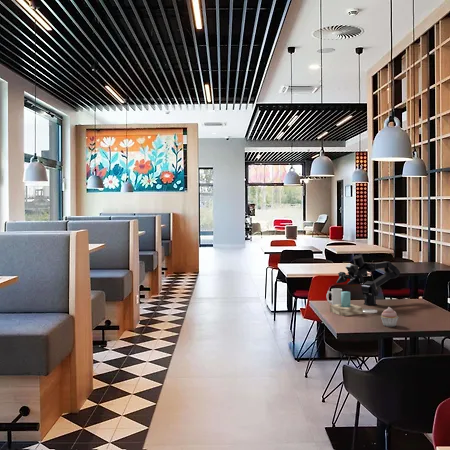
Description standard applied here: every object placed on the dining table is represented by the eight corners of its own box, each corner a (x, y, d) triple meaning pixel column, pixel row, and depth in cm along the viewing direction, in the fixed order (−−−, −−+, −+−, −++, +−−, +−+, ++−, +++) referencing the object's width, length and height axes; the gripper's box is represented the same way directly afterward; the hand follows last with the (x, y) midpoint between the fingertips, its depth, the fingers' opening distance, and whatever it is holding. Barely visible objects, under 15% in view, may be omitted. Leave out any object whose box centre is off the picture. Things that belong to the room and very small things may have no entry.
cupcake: (386, 322, 265) (385, 304, 265) (402, 325, 258) (401, 306, 258) (376, 325, 259) (376, 306, 259) (392, 328, 252) (392, 309, 252)
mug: (342, 307, 313) (342, 288, 313) (342, 308, 307) (341, 289, 307) (326, 306, 316) (326, 288, 316) (326, 308, 310) (325, 289, 310)
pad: (370, 309, 303) (370, 308, 303) (380, 312, 293) (380, 311, 293) (357, 310, 300) (357, 309, 300) (366, 313, 290) (366, 312, 290)
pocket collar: (349, 309, 304) (349, 303, 304) (362, 313, 290) (362, 307, 290) (329, 311, 299) (329, 305, 299) (342, 315, 286) (341, 309, 286)
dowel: (347, 311, 298) (347, 291, 298) (352, 313, 293) (352, 292, 293) (339, 312, 297) (339, 291, 296) (344, 313, 291) (344, 293, 291)
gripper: (344, 260, 320) (328, 270, 313) (366, 262, 304) (349, 272, 297) (348, 276, 322) (332, 286, 315) (370, 278, 307) (354, 289, 299)
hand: (342, 283), depth 306 cm, fingers open, 9 cm apart
